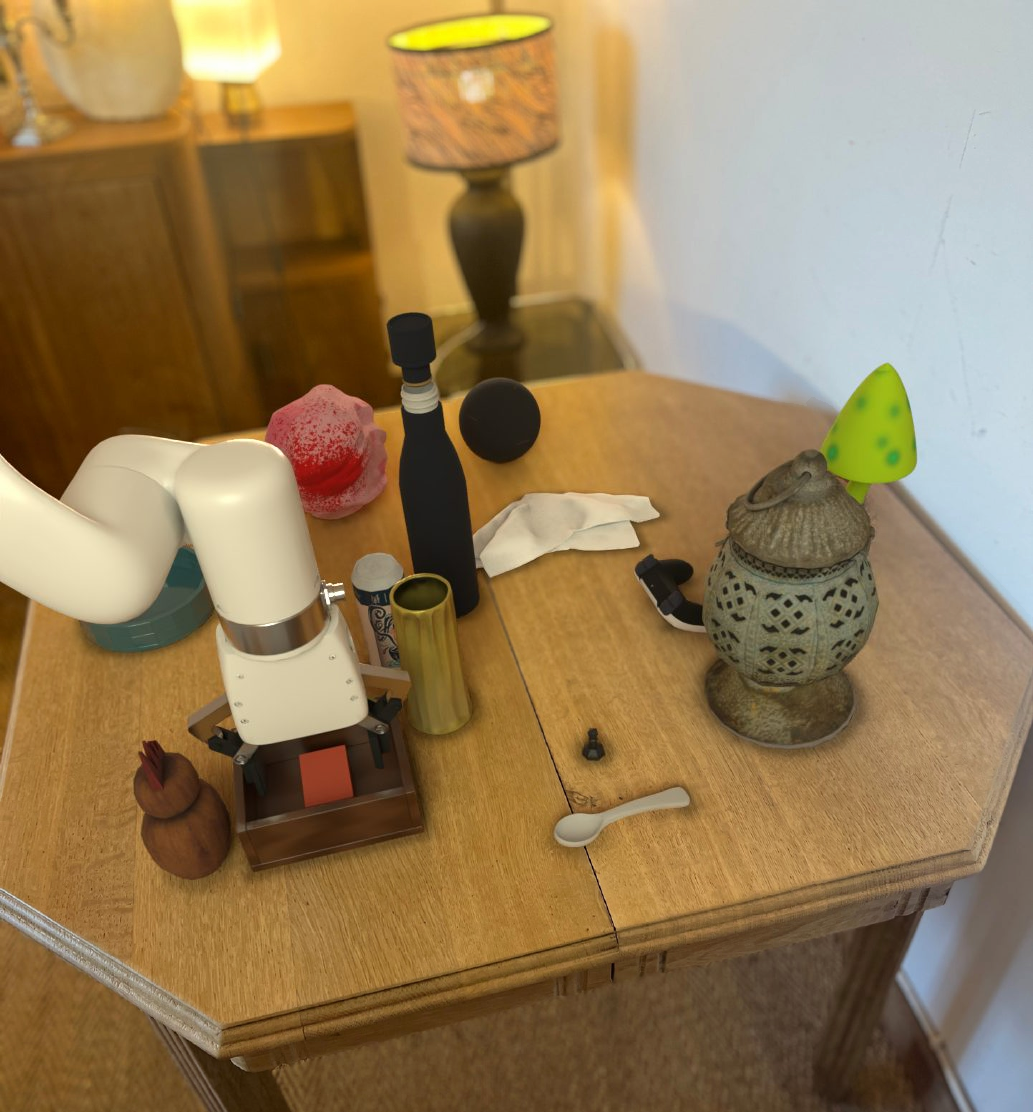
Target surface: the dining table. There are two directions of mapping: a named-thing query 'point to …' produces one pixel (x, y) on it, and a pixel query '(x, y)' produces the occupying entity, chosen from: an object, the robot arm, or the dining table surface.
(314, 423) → the decorative rock
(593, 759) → the chess pawn
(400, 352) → the black bottle
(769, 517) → the lantern
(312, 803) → the red rectangular prism
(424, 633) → the vase
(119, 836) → the dining table surface
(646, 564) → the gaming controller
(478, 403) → the speaker
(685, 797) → the spoon
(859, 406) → the mushroom
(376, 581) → the beer can
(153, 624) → the bowl
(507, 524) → the cloth
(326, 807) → the holder
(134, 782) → the wooden figurine
